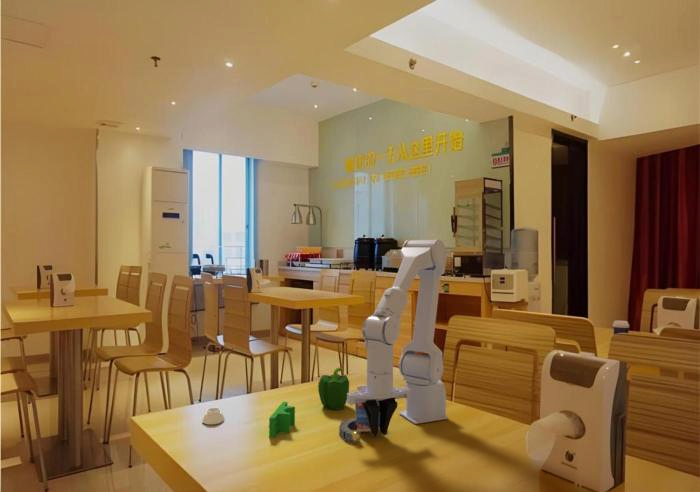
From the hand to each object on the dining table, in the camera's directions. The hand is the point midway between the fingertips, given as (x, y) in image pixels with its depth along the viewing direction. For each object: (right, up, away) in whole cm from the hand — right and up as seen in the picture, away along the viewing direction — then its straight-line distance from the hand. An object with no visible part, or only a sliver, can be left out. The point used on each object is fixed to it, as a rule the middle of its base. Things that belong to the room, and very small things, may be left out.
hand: (378, 433), depth 101 cm
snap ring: (-4, -1, +4) cm, 6 cm away
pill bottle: (-2, -1, +3) cm, 4 cm away
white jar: (-39, -1, +10) cm, 40 cm away
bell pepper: (-10, -2, +21) cm, 23 cm away
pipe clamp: (-22, -1, +6) cm, 22 cm away
